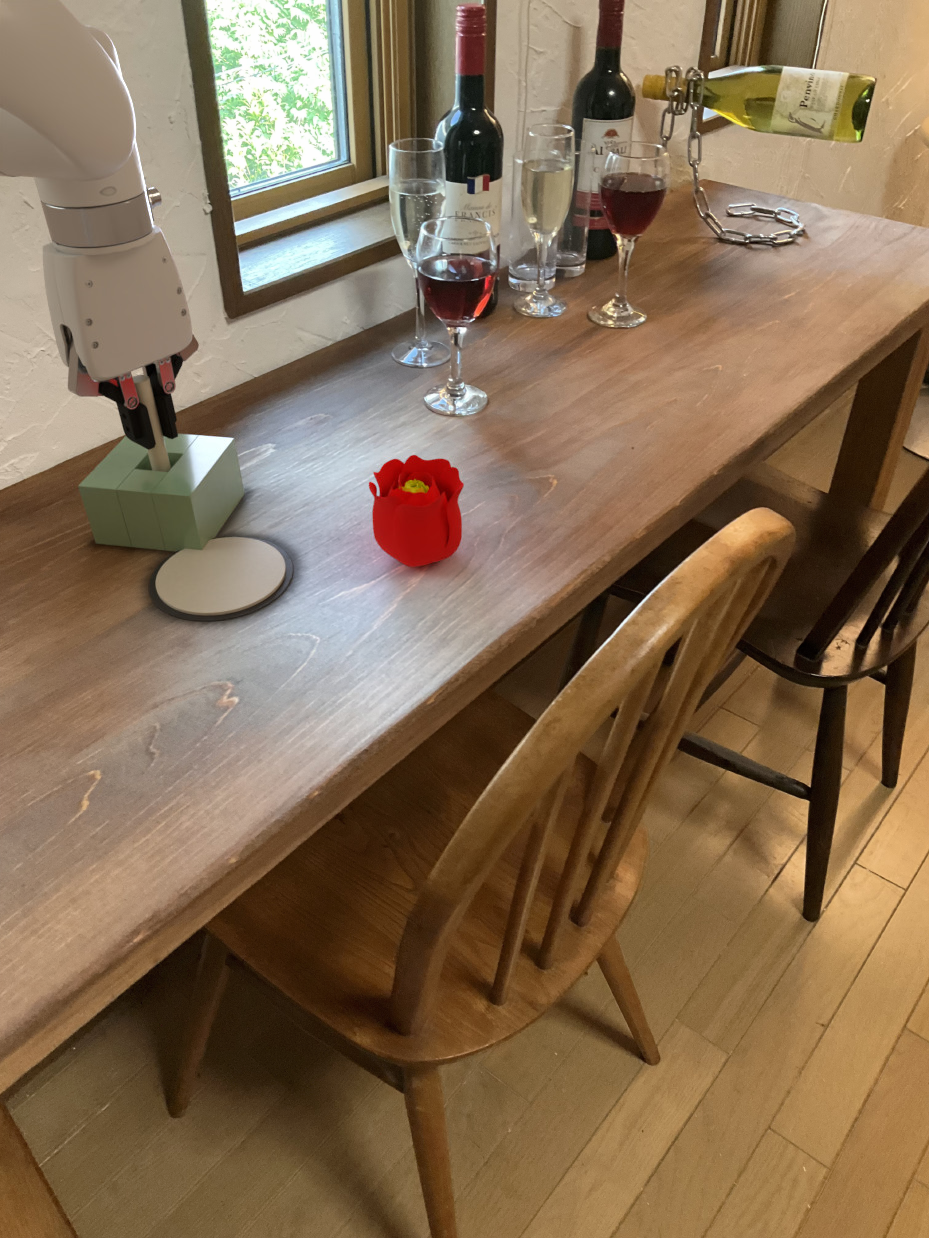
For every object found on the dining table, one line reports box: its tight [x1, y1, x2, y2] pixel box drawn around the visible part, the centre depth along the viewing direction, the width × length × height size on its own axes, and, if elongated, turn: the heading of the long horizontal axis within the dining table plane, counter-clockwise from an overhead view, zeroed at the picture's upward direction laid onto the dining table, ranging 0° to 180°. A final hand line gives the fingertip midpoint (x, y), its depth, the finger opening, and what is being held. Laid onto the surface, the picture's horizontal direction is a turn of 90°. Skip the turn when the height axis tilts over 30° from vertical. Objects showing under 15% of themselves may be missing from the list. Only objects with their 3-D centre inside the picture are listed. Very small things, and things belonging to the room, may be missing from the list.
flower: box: [368, 454, 465, 568], centre depth 81 cm, size 8×8×8 cm
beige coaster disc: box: [148, 535, 294, 623], centre depth 81 cm, size 12×12×1 cm
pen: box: [132, 374, 171, 472], centre depth 84 cm, size 2×2×12 cm
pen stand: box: [77, 433, 246, 553], centre depth 87 cm, size 10×10×6 cm
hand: (153, 437), depth 83 cm, fingers closed on pen
